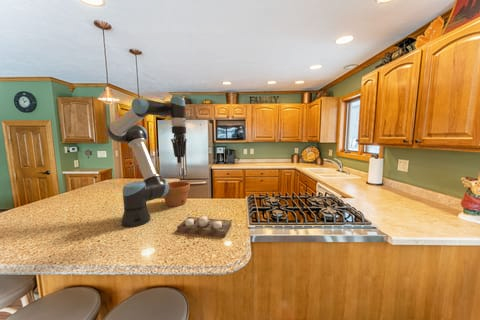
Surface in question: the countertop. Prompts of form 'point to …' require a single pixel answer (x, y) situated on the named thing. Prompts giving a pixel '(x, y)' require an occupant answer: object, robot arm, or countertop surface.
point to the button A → (189, 222)
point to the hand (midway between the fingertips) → (180, 168)
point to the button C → (217, 225)
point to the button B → (203, 221)
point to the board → (205, 230)
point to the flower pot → (177, 193)
